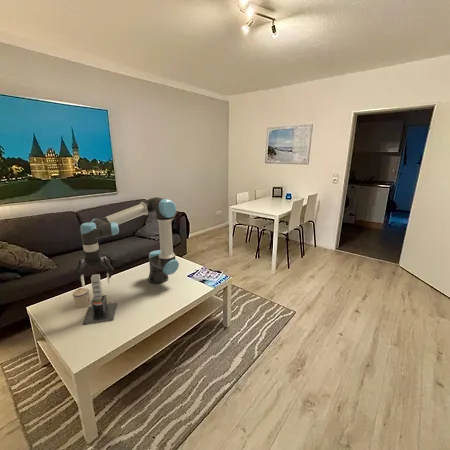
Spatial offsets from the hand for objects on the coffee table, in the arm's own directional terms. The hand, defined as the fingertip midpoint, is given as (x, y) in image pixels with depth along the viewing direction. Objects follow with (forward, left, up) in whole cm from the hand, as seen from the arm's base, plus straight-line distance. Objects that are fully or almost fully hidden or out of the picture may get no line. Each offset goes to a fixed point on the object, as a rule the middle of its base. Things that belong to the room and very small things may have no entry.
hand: (96, 284), depth 145 cm
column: (0, 0, -13) cm, 13 cm away
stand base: (0, 0, -20) cm, 20 cm away
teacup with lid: (-16, -14, -20) cm, 29 cm away
